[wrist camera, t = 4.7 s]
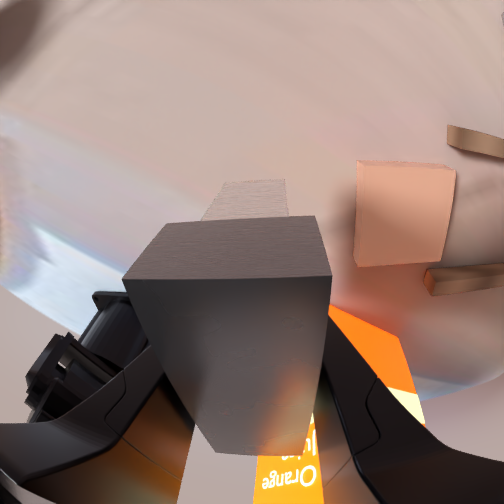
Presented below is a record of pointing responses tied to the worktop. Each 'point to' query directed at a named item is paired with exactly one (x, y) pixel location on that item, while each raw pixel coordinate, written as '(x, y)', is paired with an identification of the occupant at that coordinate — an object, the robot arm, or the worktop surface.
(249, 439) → the grey block
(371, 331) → the orange juice
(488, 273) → the bay
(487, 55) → the worktop surface
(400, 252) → the tile
